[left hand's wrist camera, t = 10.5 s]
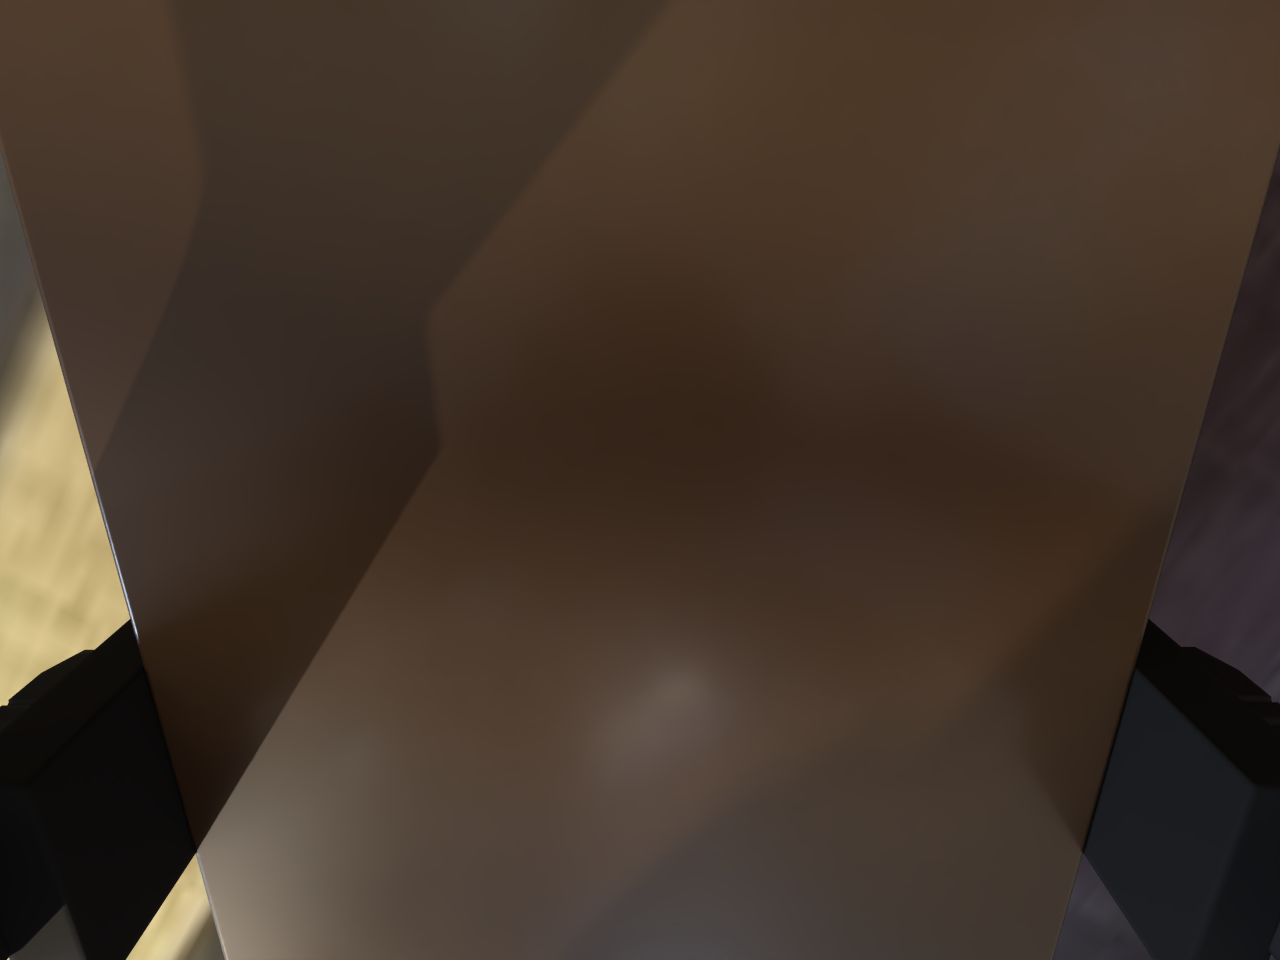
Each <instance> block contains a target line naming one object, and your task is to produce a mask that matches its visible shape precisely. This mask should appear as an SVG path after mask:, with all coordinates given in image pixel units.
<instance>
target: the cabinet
mask: <svg viewBox="0 0 1280 960" xmlns="http://www.w3.org/2000/svg"><path fill="white" fill-rule="evenodd" d="M0 149H1V153H2V156H3V160H4V164H5V167H6V171H7V174H8V178H9V182H10V185H11V189H12V192H13V196H14V200H15V203H16V207H17V210H18V214H19V218H20V221H21V225H22V229H23V232H24V236H25V239H26V243H27V247H28V250H29V254H30V257H31V261H32V265H33V268H34V272H35V275H36V279H37V283H38V286H39V290H40V293H41V297H42V301H43V304H44V308H45V311H46V315H47V319H48V322H49V326H50V330H51V333H52V337H53V340H54V344H55V348H56V351H57V355H58V358H59V362H60V366H61V369H62V373H63V376H64V380H65V384H66V387H67V391H68V394H69V398H70V402H71V405H72V409H73V413H74V416H75V420H76V423H77V427H78V431H79V434H80V438H81V441H82V445H83V449H84V452H85V456H86V459H87V463H88V467H89V470H90V474H91V477H92V481H93V485H94V488H95V492H96V496H97V499H98V503H99V506H100V510H101V514H102V517H103V521H104V524H105V528H106V532H107V535H108V539H109V542H110V546H111V550H112V553H113V557H114V560H115V564H116V568H117V571H118V575H119V579H120V582H121V586H122V589H123V593H124V597H125V600H126V604H127V607H128V611H129V615H130V618H131V622H132V625H133V629H134V633H135V636H136V640H137V643H138V647H139V651H140V654H141V658H142V661H143V665H144V669H145V672H146V676H147V680H148V683H149V687H150V690H151V694H152V698H153V701H154V705H155V708H156V712H157V716H158V719H159V723H160V726H161V730H162V734H163V737H164V741H165V744H166V748H167V752H168V755H169V759H170V763H171V766H172V770H173V773H174V777H175V781H176V784H177V788H178V791H179V795H180V799H181V802H182V806H183V809H184V813H185V817H186V820H187V824H188V827H189V831H190V835H191V838H192V842H193V846H194V849H195V853H196V856H197V860H198V864H199V867H200V871H201V874H202V878H203V882H204V885H205V889H206V892H207V896H208V900H209V903H210V907H211V910H212V914H213V918H214V921H215V925H216V929H217V932H218V936H219V939H220V943H221V947H222V950H223V954H224V957H225V960H1053V957H1054V954H1055V950H1056V947H1057V943H1058V939H1059V936H1060V932H1061V929H1062V925H1063V922H1064V918H1065V914H1066V911H1067V907H1068V904H1069V900H1070V897H1071V893H1072V889H1073V886H1074V882H1075V879H1076V875H1077V872H1078V868H1079V864H1080V861H1081V857H1082V854H1083V850H1084V847H1085V843H1086V839H1087V836H1088V832H1089V829H1090V825H1091V822H1092V818H1093V814H1094V811H1095V807H1096V804H1097V800H1098V797H1099V793H1100V789H1101V786H1102V782H1103V779H1104V775H1105V772H1106V768H1107V764H1108V761H1109V757H1110V754H1111V750H1112V747H1113V743H1114V739H1115V736H1116V732H1117V729H1118V725H1119V722H1120V718H1121V714H1122V711H1123V707H1124V704H1125V700H1126V697H1127V693H1128V689H1129V686H1130V682H1131V679H1132V675H1133V672H1134V668H1135V664H1136V661H1137V657H1138V654H1139V650H1140V647H1141V643H1142V639H1143V636H1144V632H1145V629H1146V625H1147V622H1148V618H1149V614H1150V611H1151V607H1152V604H1153V600H1154V597H1155V593H1156V589H1157V586H1158V582H1159V579H1160V575H1161V572H1162V568H1163V564H1164V561H1165V557H1166V554H1167V550H1168V547H1169V543H1170V539H1171V536H1172V532H1173V529H1174V525H1175V522H1176V518H1177V514H1178V511H1179V507H1180V504H1181V500H1182V497H1183V493H1184V489H1185V486H1186V482H1187V479H1188V475H1189V472H1190V468H1191V464H1192V461H1193V457H1194V454H1195V450H1196V447H1197V443H1198V439H1199V436H1200V432H1201V429H1202V425H1203V422H1204V418H1205V414H1206V411H1207V407H1208V404H1209V400H1210V397H1211V393H1212V389H1213V386H1214V382H1215V379H1216V375H1217V372H1218V368H1219V364H1220V361H1221V357H1222V354H1223V350H1224V347H1225V343H1226V339H1227V336H1228V332H1229V329H1230V325H1231V322H1232V318H1233V315H1234V311H1235V307H1236V304H1237V300H1238V297H1239V293H1240V290H1241V286H1242V282H1243V279H1244V275H1245V272H1246V268H1247V265H1248V261H1249V257H1250V254H1251V250H1252V247H1253V243H1254V240H1255V236H1256V232H1257V229H1258V225H1259V222H1260V218H1261V215H1262V211H1263V207H1264V204H1265V200H1266V197H1267V193H1268V190H1269V186H1270V182H1271V179H1272V175H1273V172H1274V168H1275V165H1276V161H1277V157H1278V154H1279V150H1280V0H0Z"/></svg>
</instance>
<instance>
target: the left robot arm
mask: <svg viewBox="0 0 1280 960" xmlns="http://www.w3.org/2000/svg"><path fill="white" fill-rule="evenodd" d="M1083 853H1084V855H1085V856H1086V858H1087V859H1088V861H1089V862H1090V864H1091V865H1092V867H1093V868H1094V870H1095V871H1096V873H1097V874H1098V876H1099V878H1100V879H1101V881H1102V882H1103V884H1104V885H1105V887H1106V888H1107V890H1108V891H1109V893H1110V894H1111V896H1112V897H1113V899H1114V900H1115V902H1116V903H1117V905H1118V906H1119V908H1120V909H1121V911H1122V913H1123V914H1124V916H1125V917H1126V919H1127V920H1128V922H1129V923H1130V925H1131V926H1132V928H1133V929H1134V931H1135V932H1136V934H1137V935H1138V937H1139V938H1140V940H1141V941H1142V943H1143V945H1144V946H1145V948H1146V949H1147V951H1148V952H1149V954H1150V955H1151V957H1152V958H1153V960H1269V958H1270V955H1271V954H1272V955H1273V957H1274V958H1275V959H1276V960H1280V704H1279V703H1278V702H1272V700H1271V696H1269V695H1268V694H1267V693H1266V692H1265V691H1263V690H1262V689H1261V688H1260V687H1258V686H1257V685H1256V684H1255V683H1254V682H1252V681H1251V680H1250V679H1249V678H1248V677H1246V676H1245V675H1244V674H1243V673H1241V672H1240V671H1239V670H1237V669H1236V668H1234V667H1232V666H1230V665H1228V664H1226V663H1224V662H1222V661H1220V660H1219V659H1217V658H1215V657H1213V656H1211V655H1209V654H1207V653H1205V652H1203V651H1201V650H1200V649H1198V648H1196V647H1180V646H1179V645H1178V644H1177V643H1176V642H1175V641H1174V640H1172V639H1171V638H1170V637H1169V636H1168V635H1167V634H1165V633H1164V632H1163V631H1162V630H1161V629H1160V628H1159V627H1157V626H1156V625H1155V624H1154V623H1153V622H1152V621H1150V620H1149V619H1148V622H1147V625H1146V629H1145V632H1144V636H1143V639H1142V643H1141V647H1140V650H1139V654H1138V657H1137V661H1136V664H1135V668H1134V672H1133V675H1132V679H1131V682H1130V686H1129V689H1128V693H1127V697H1126V700H1125V704H1124V707H1123V711H1122V714H1121V718H1120V722H1119V725H1118V729H1117V732H1116V736H1115V739H1114V743H1113V747H1112V750H1111V754H1110V757H1109V761H1108V764H1107V768H1106V772H1105V775H1104V779H1103V782H1102V786H1101V789H1100V793H1099V797H1098V800H1097V804H1096V807H1095V811H1094V814H1093V818H1092V822H1091V825H1090V829H1089V832H1088V836H1087V839H1086V843H1085V847H1084V850H1083ZM194 855H195V849H194V846H193V842H192V838H191V835H190V831H189V827H188V824H187V820H186V817H185V813H184V809H183V806H182V802H181V799H180V795H179V791H178V788H177V784H176V781H175V777H174V773H173V770H172V766H171V763H170V759H169V755H168V752H167V748H166V744H165V741H164V737H163V734H162V730H161V726H160V723H159V719H158V716H157V712H156V708H155V705H154V701H153V698H152V694H151V690H150V687H149V683H148V680H147V676H146V672H145V669H144V665H143V661H142V658H141V654H140V651H139V647H138V643H137V640H136V636H135V633H134V629H133V625H132V622H131V619H130V620H129V621H127V622H126V623H125V624H124V625H123V626H122V627H121V628H119V629H118V630H117V631H116V632H115V633H114V634H112V635H111V636H110V637H109V638H108V639H107V640H106V641H104V642H103V643H102V644H101V645H100V646H99V647H97V648H96V649H95V650H84V651H82V652H80V653H78V654H76V655H74V656H72V657H70V658H69V659H67V660H65V661H63V662H61V663H59V664H57V665H55V666H53V667H52V668H50V669H48V670H46V671H44V672H42V673H41V674H39V675H38V676H37V677H36V678H35V679H33V680H32V681H31V682H30V683H29V684H27V685H26V686H25V687H24V688H23V689H21V690H20V691H19V692H18V693H17V694H15V695H14V696H13V697H12V698H10V699H9V703H8V705H7V706H1V707H0V960H7V959H8V957H9V958H10V960H126V958H127V957H128V955H129V954H130V952H131V951H132V949H133V948H134V946H135V945H136V943H137V942H138V940H139V939H140V937H141V936H142V934H143V933H144V931H145V929H146V928H147V926H148V925H149V923H150V922H151V920H152V919H153V917H154V916H155V914H156V913H157V911H158V910H159V908H160V907H161V905H162V904H163V902H164V901H165V899H166V898H167V896H168V894H169V893H170V891H171V890H172V888H173V887H174V885H175V884H176V882H177V881H178V879H179V878H180V876H181V875H182V873H183V872H184V870H185V869H186V867H187V866H188V864H189V862H190V861H191V859H192V858H193V856H194Z"/></svg>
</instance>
